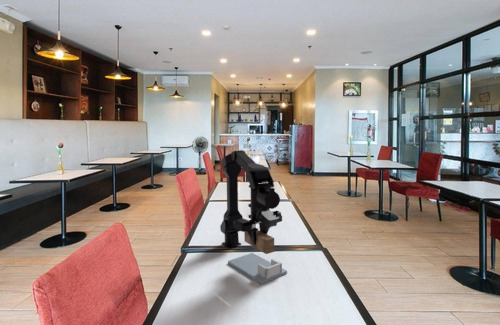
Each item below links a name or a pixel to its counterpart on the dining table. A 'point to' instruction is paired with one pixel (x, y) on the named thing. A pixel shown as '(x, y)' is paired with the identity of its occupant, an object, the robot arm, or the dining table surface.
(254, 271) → the bracket
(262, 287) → the dining table surface
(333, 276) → the dining table surface
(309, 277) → the dining table surface
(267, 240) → the brown wooden block
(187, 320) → the dining table surface
